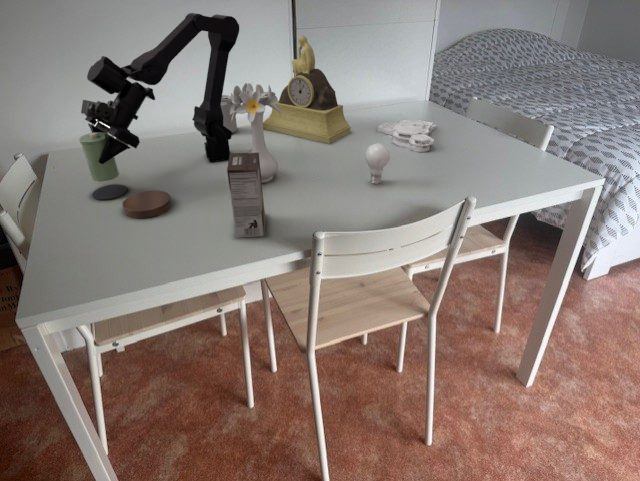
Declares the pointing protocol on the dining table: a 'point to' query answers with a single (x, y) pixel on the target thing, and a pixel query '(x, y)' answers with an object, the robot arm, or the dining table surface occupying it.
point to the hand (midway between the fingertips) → (94, 159)
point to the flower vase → (256, 122)
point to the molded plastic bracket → (410, 134)
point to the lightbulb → (377, 160)
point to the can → (228, 114)
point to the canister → (92, 152)
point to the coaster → (109, 192)
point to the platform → (147, 204)
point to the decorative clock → (308, 103)
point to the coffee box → (246, 194)
